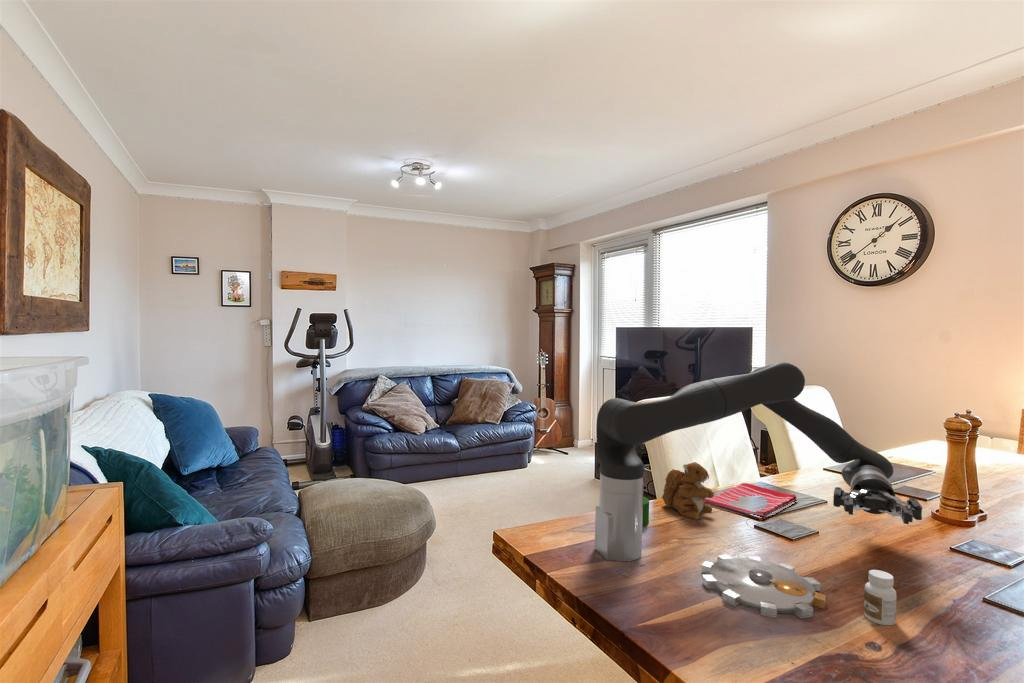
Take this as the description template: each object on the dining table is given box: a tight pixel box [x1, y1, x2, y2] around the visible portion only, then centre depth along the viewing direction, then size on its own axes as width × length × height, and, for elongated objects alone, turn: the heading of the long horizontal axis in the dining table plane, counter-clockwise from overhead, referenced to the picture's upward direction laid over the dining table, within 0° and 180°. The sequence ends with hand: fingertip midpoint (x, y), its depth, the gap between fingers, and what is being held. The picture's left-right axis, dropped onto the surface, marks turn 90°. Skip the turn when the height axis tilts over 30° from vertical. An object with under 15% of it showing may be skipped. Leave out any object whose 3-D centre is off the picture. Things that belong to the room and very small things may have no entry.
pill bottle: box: [863, 569, 897, 626], centre depth 87 cm, size 4×4×8 cm
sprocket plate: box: [700, 554, 827, 619], centre depth 97 cm, size 21×21×2 cm
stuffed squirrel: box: [660, 461, 715, 520], centre depth 139 cm, size 10×14×13 cm
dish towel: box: [703, 482, 798, 521], centre depth 145 cm, size 17×24×3 cm
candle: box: [642, 496, 650, 527], centre depth 130 cm, size 8×8×10 cm
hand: (878, 514), depth 97 cm, fingers open, 8 cm apart
